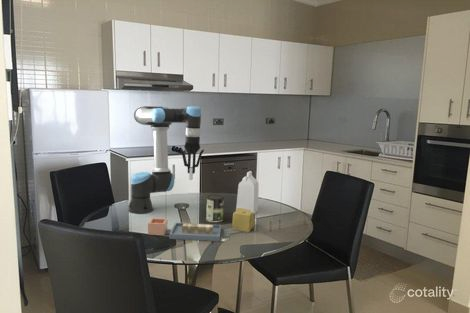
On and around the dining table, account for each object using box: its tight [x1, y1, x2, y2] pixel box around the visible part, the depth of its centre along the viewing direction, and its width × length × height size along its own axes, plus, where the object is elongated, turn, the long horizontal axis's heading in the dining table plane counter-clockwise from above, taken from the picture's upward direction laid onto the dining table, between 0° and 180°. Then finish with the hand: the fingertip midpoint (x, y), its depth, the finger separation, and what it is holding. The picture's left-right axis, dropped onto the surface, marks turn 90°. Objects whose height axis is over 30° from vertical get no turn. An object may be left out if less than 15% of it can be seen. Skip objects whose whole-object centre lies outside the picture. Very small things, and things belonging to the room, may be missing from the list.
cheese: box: [231, 208, 256, 233], centre depth 214 cm, size 10×11×10 cm
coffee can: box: [205, 194, 225, 223], centre depth 227 cm, size 10×10×14 cm
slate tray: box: [168, 222, 222, 242], centre depth 203 cm, size 26×18×2 cm
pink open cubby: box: [147, 217, 169, 236], centre depth 203 cm, size 9×9×6 cm
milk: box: [235, 170, 259, 215], centre depth 245 cm, size 12×12×26 cm
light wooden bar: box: [182, 223, 213, 234], centre depth 203 cm, size 8×4×16 cm
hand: (190, 179), depth 206 cm, fingers closed
